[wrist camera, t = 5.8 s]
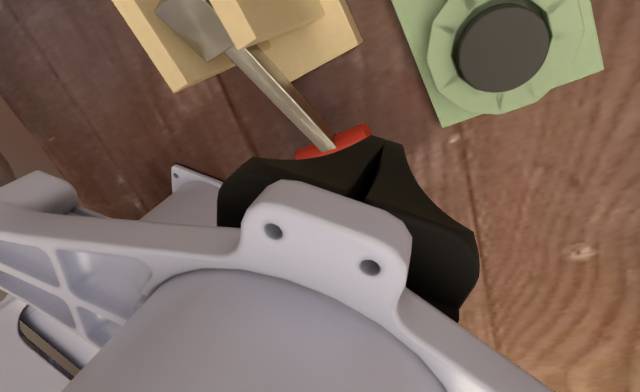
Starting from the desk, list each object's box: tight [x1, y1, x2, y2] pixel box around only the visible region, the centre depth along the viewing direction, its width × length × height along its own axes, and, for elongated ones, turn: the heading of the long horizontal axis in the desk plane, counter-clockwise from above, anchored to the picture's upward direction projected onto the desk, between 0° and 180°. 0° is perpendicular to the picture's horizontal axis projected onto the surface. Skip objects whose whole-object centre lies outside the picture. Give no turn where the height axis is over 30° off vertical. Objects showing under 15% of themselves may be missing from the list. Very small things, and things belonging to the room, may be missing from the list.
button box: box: [391, 0, 604, 128], centre depth 17 cm, size 10×8×3 cm
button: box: [458, 3, 550, 93], centre depth 16 cm, size 4×4×2 cm
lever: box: [154, 0, 371, 160], centre depth 18 cm, size 12×5×2 cm, turn 29°
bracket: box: [112, 0, 363, 93], centre depth 18 cm, size 9×7×10 cm
